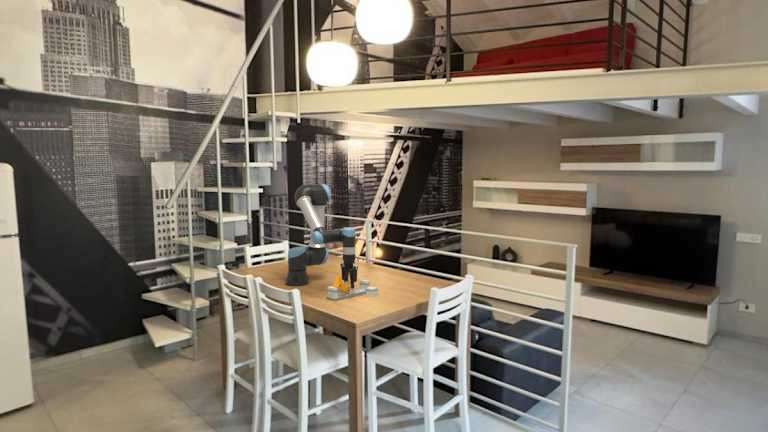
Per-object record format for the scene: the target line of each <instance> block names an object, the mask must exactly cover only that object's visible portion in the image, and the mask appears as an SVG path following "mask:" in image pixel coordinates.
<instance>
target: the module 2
mask: <svg viewBox="0 0 768 432" xmlns="http://www.w3.org/2000/svg"><path fill="white" fill-rule="evenodd" d="M358 281H359V282H358V284H359V285H358V287H359V288H358V289H359V290H360V289H361V290H364V291H366V288H368V287H371V284H370V283H371V282H370V281H371V280H366V279H359V280H358Z"/></svg>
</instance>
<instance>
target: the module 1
mask: <svg viewBox="0 0 768 432" xmlns="http://www.w3.org/2000/svg"><path fill="white" fill-rule="evenodd" d="M326 291H327V297H329V298H332V299H336V298H338V294H339V289H338V288H337V287H333V285H331V286H330V285H329V286H327V290H326Z"/></svg>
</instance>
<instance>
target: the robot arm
mask: <svg viewBox="0 0 768 432" xmlns="http://www.w3.org/2000/svg"><path fill="white" fill-rule="evenodd" d="M331 198H332V194H331V190H330V188H329V186H328V185H327V184H323V183H322V184H321V183H317V184H311V183H310V184H302V185H301V186H299V187H298V188H297V189H296V191H295V194H294V201H295V202H294V203H295V204H296V206H297V207H298V208H300V210H301V213H302V214H303V216H304V219H305V221H306V222H307V224H308V227H309V228H310V238H309V239H310V242H309V243H308V245H307V248H306V246H296V247H292V248H289V250H288V251H287V263H288V264H287V266H288V267H287V275H286V279H285V284H286V285H288V286H295V287H296V286H305V285H309V283H310V277H309V274H308V273H307V267H312V266H321V265H325V264H327V262H328V260H329V256H330V253H329V248H328V247H326V244H334V243H341V244H342V261H343V262H342V263H340V267H341V268H340V269H341V270H340V271H341V277H342V281H343V282H344V283H343V284H344V286H346V285H347V283H348V282H350V283H349V292H350V294H352V293H354V289H355V283H357V282H358V270H359V266H358V265H356V264H355V262H356V252H357V251H356V236H357V235H356V229H355V227H350V226H348V227H343V228H342V229H341V228H335V229H332V230H326V228H325V209H326V207H327V205H328V203H329V202H331Z"/></svg>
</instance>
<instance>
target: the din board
mask: <svg viewBox="0 0 768 432" xmlns="http://www.w3.org/2000/svg"><path fill="white" fill-rule="evenodd" d="M361 295H366V291H364V290H361V289H360V290H359V288H358V289H355V290H354V293H352V294H350V293H349V294H347V293H345V292H342V293H341V292H340V293H338V298H336V299H332V298H329V297H328V296H326V299H327V300H331V301H334V302H337V301H341V300H344V299H349V298H353V297H357V296H361Z"/></svg>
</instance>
